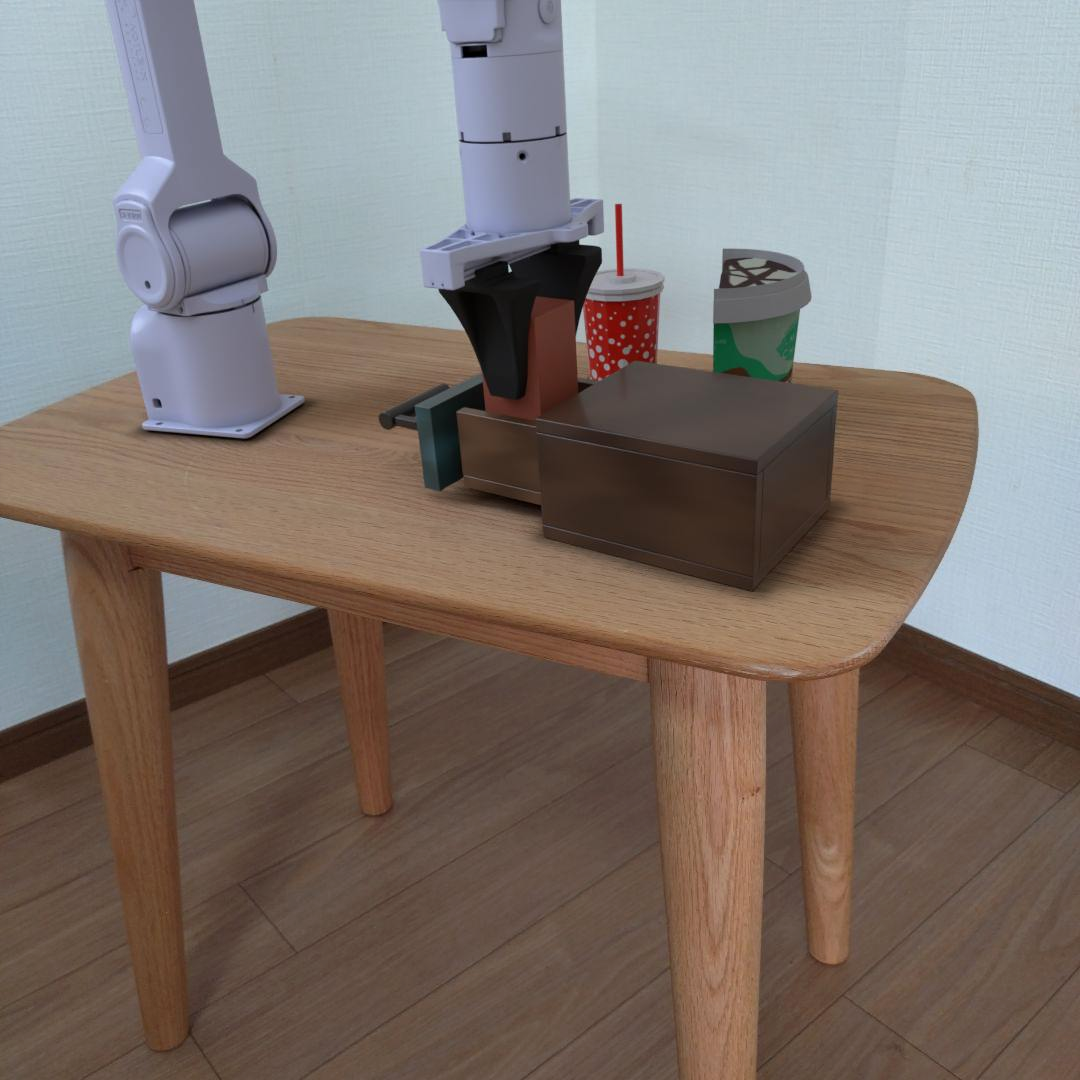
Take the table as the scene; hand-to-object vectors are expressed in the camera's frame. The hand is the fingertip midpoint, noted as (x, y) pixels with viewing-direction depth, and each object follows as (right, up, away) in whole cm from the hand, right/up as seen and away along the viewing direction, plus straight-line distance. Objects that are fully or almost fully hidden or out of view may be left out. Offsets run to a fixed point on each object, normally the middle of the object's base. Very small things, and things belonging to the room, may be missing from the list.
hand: (530, 383), depth 61 cm
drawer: (-1, -5, +4) cm, 6 cm away
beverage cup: (+7, +1, +16) cm, 17 cm away
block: (0, -1, +1) cm, 1 cm away
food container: (+16, 0, +13) cm, 21 cm away
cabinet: (+9, -8, -2) cm, 12 cm away
